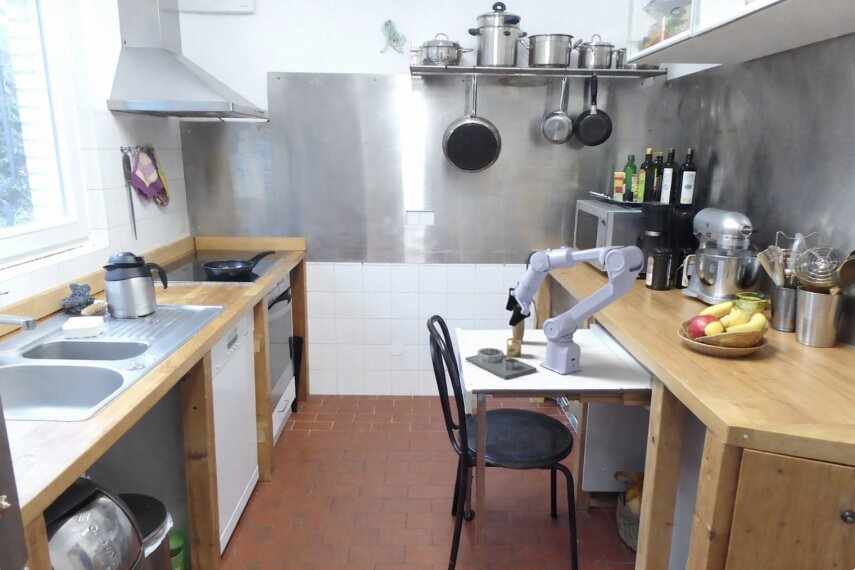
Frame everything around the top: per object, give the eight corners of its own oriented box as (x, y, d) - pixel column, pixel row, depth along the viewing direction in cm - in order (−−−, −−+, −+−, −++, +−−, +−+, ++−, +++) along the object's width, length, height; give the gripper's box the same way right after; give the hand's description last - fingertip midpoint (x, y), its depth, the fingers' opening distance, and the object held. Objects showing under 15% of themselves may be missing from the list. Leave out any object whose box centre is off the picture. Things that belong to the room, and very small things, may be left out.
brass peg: (523, 356, 177) (524, 340, 176) (513, 358, 175) (513, 343, 174) (514, 352, 181) (514, 337, 180) (503, 354, 179) (504, 339, 178)
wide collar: (508, 359, 171) (508, 353, 170) (488, 364, 167) (488, 357, 166) (491, 352, 177) (492, 346, 177) (472, 357, 173) (472, 350, 173)
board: (536, 371, 164) (536, 367, 164) (504, 379, 158) (504, 376, 158) (495, 353, 179) (495, 350, 179) (465, 360, 173) (465, 357, 172)
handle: (528, 344, 188) (530, 300, 185) (509, 344, 188) (511, 300, 185) (526, 340, 193) (528, 297, 190) (507, 340, 193) (508, 297, 190)
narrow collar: (521, 368, 164) (521, 361, 164) (509, 371, 162) (509, 364, 161) (510, 363, 168) (511, 356, 167) (499, 366, 165) (499, 359, 165)
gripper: (514, 267, 176) (496, 300, 184) (521, 295, 164) (501, 328, 172) (534, 273, 178) (515, 306, 185) (543, 301, 166) (522, 335, 173)
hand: (510, 317), depth 179 cm, fingers open, 7 cm apart
